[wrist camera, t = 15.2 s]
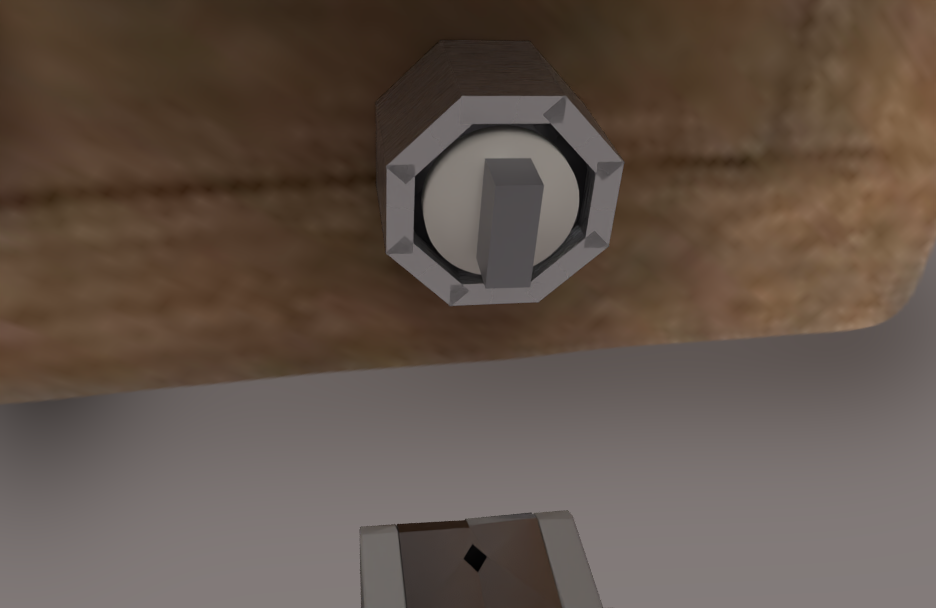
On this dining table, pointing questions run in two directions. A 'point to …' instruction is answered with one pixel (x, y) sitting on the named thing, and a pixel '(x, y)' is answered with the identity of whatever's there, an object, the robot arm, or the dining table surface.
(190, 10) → the dining table surface
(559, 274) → the grey octagonal pot
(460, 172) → the cap
